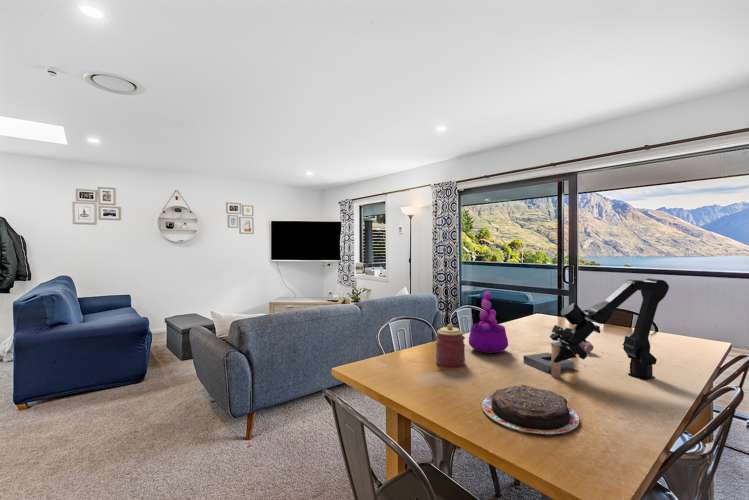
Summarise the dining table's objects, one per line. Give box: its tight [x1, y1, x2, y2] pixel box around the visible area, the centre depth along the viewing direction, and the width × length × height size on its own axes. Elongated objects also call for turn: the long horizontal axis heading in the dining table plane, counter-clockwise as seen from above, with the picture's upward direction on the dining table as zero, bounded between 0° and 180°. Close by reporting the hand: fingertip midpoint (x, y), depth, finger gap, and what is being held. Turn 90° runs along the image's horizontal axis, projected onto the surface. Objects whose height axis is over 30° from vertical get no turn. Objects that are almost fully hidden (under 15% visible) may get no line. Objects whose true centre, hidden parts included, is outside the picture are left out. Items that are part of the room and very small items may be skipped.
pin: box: [549, 340, 562, 379], centre depth 140 cm, size 4×4×14 cm
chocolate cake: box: [481, 384, 581, 437], centre depth 110 cm, size 28×28×7 cm
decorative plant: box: [468, 290, 509, 354], centre depth 175 cm, size 19×18×30 cm
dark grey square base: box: [523, 352, 575, 374], centre depth 153 cm, size 14×14×3 cm
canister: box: [434, 323, 466, 368], centre depth 158 cm, size 13×13×18 cm
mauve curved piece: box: [579, 340, 594, 355], centre depth 172 cm, size 10×5×7 cm, turn 0°
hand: (552, 360), depth 140 cm, fingers closed on pin, 3 cm apart
